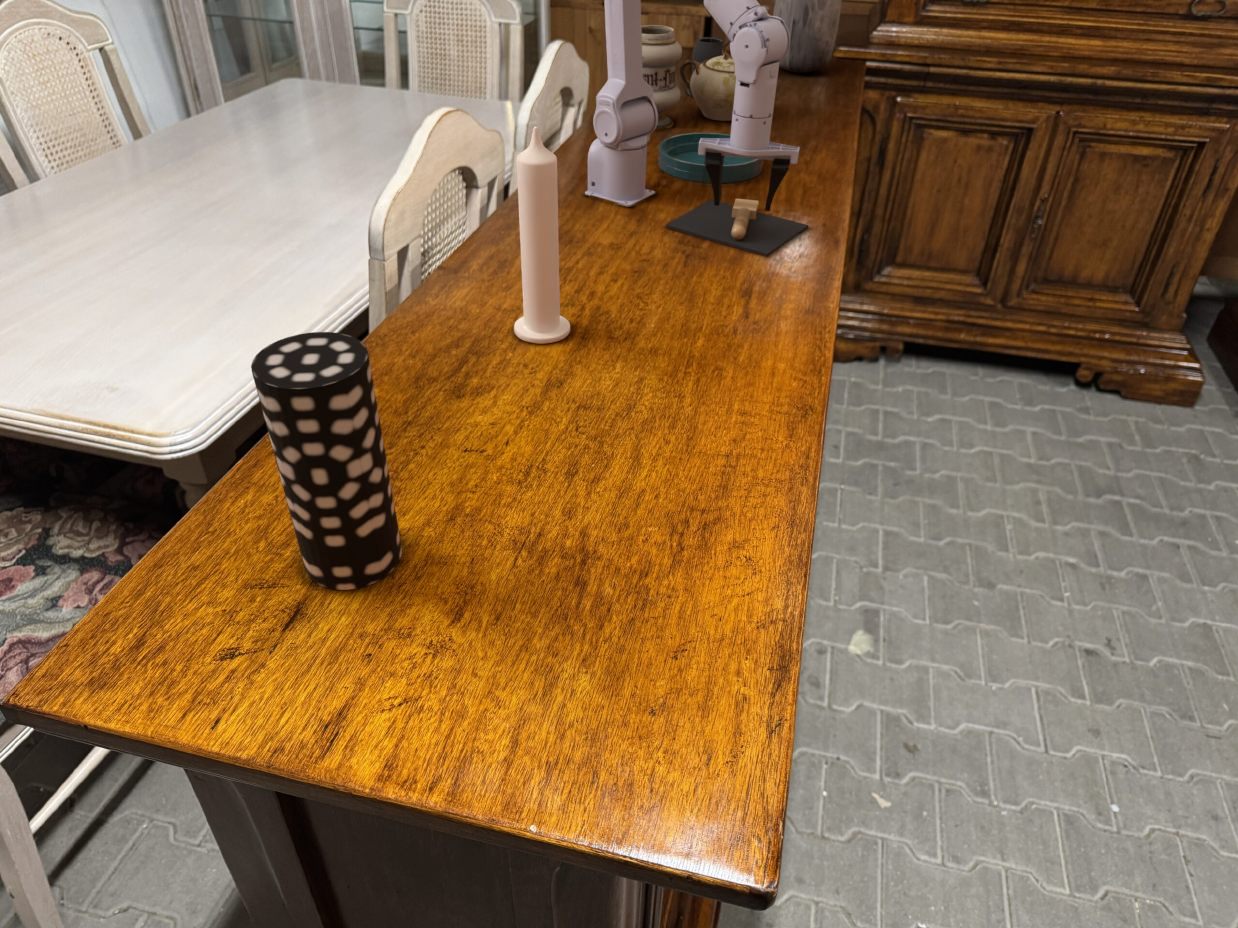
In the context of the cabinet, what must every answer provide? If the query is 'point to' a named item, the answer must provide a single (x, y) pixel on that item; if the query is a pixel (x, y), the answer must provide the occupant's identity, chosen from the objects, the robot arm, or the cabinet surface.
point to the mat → (718, 224)
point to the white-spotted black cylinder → (330, 456)
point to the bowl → (702, 160)
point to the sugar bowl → (713, 85)
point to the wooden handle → (743, 216)
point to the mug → (706, 50)
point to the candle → (539, 245)
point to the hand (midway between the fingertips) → (742, 206)
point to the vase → (808, 32)
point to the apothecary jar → (661, 68)
